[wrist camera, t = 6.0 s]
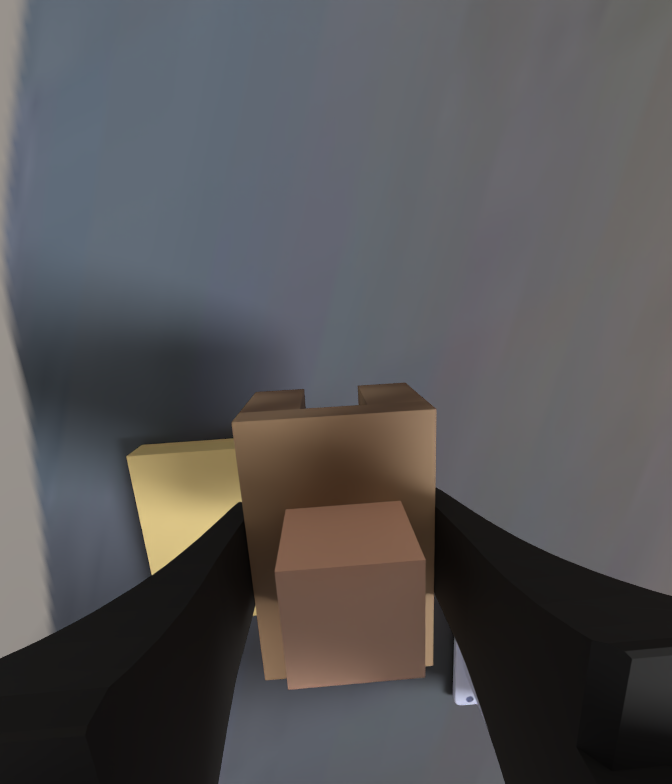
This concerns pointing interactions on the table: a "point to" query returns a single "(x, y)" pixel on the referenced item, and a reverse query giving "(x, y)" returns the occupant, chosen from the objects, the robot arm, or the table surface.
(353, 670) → the salmon pink square block
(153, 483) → the plate
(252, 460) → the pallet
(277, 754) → the table surface
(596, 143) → the table surface
